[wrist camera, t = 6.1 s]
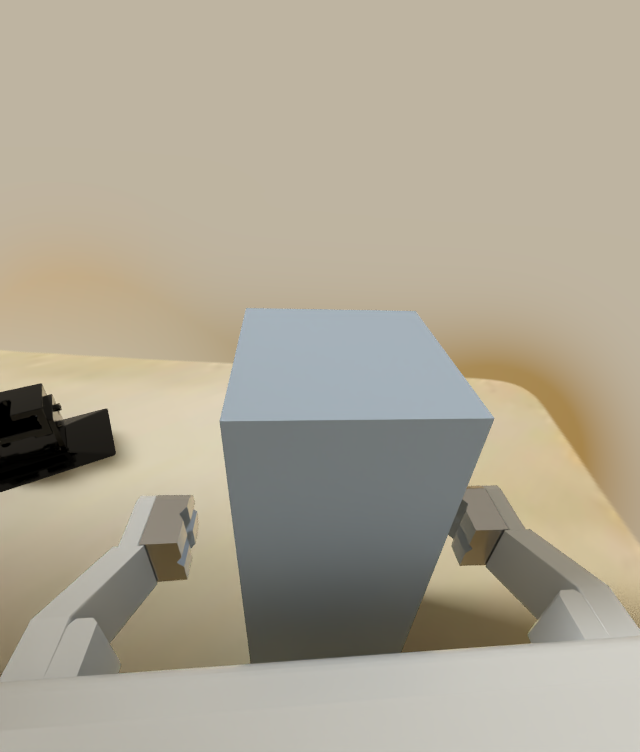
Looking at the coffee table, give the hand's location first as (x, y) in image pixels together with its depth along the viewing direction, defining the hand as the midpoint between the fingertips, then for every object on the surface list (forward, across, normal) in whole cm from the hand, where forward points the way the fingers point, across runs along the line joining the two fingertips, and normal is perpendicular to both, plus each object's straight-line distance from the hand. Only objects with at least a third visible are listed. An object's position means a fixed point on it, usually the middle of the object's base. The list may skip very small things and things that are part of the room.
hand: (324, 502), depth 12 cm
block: (-1, 0, -8) cm, 8 cm away
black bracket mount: (+11, -18, -9) cm, 22 cm away
